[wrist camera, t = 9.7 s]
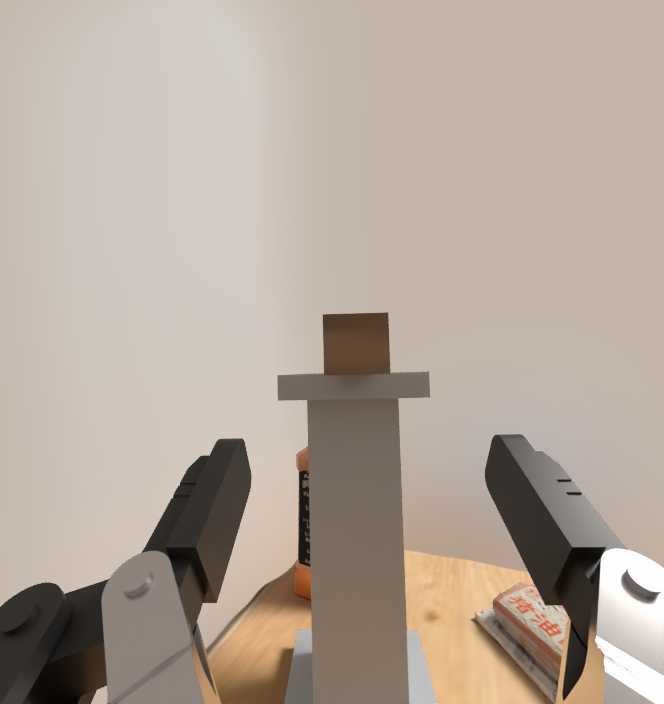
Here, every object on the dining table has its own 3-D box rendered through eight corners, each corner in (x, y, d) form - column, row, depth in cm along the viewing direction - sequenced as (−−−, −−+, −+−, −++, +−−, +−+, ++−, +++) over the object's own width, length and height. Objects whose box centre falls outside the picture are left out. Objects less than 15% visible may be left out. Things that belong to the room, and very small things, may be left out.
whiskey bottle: (327, 557, 56) (323, 373, 58) (380, 574, 51) (374, 372, 53) (290, 592, 48) (287, 374, 49) (350, 617, 42) (344, 373, 44)
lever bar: (409, 373, 16) (405, 283, 16) (305, 375, 16) (304, 287, 16) (371, 372, 38) (370, 334, 38) (328, 373, 38) (328, 336, 38)
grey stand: (461, 813, 23) (441, 371, 25) (270, 808, 24) (265, 375, 26) (418, 648, 37) (407, 371, 39) (297, 647, 38) (293, 374, 40)
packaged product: (716, 693, 27) (630, 730, 25) (722, 755, 27) (636, 798, 24) (533, 569, 45) (471, 583, 42) (535, 606, 44) (473, 622, 42)
